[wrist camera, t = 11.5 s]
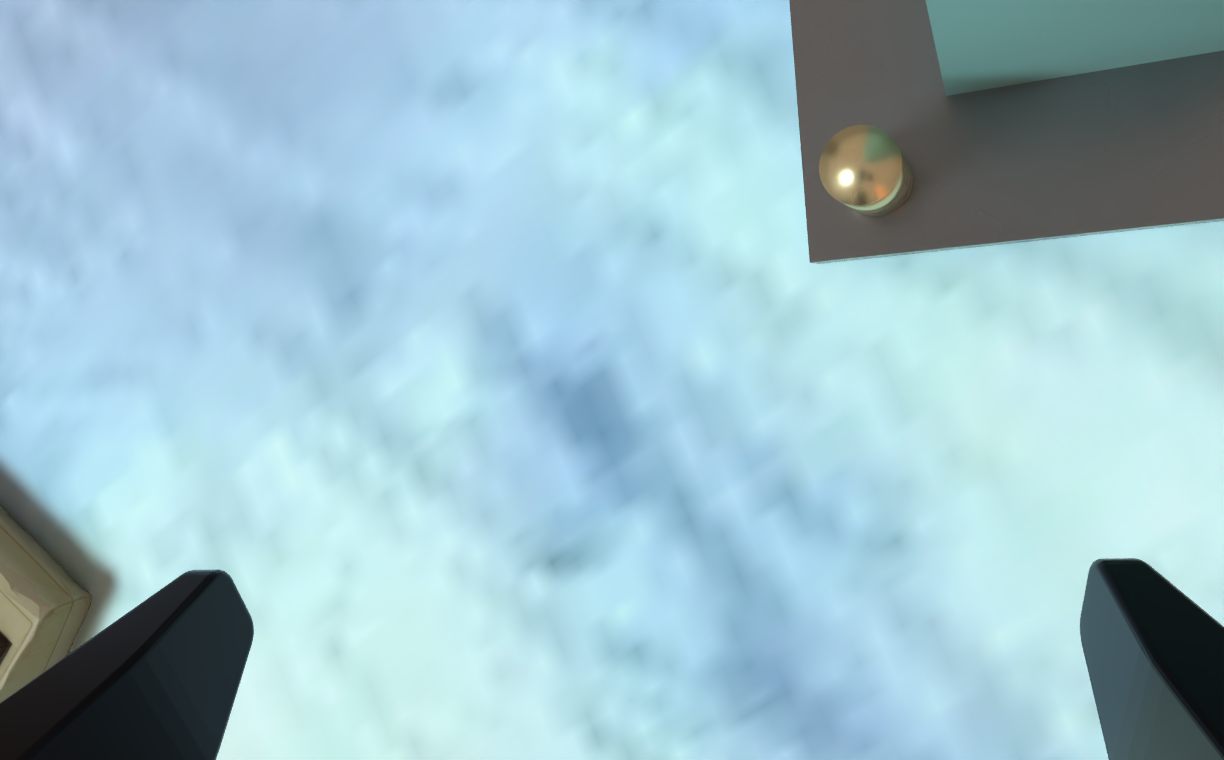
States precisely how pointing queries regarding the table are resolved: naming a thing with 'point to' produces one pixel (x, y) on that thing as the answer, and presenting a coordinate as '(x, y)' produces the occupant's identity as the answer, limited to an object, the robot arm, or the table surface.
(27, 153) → the table surface
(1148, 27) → the teal block
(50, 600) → the computer
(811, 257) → the plate
